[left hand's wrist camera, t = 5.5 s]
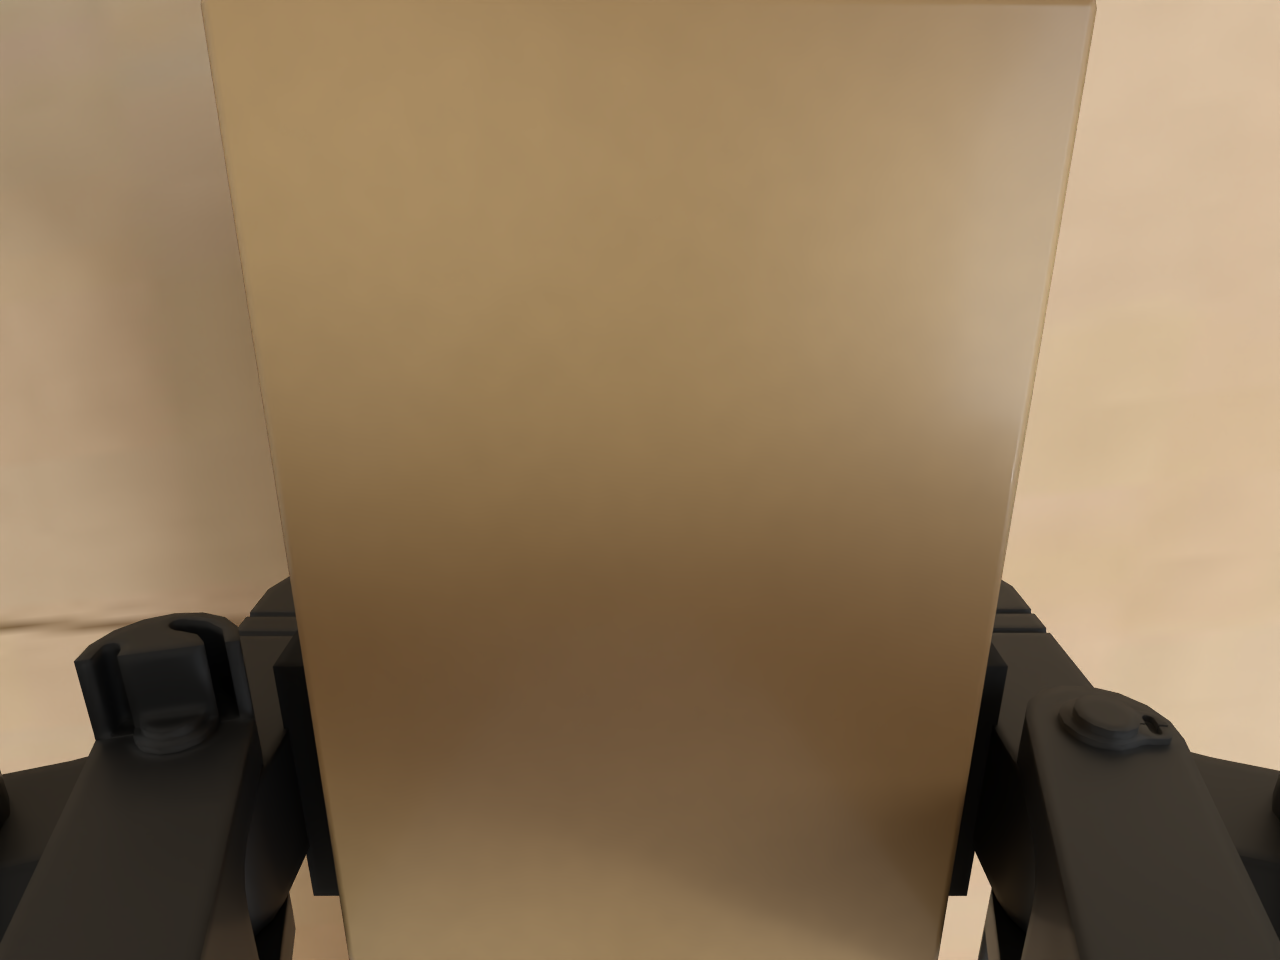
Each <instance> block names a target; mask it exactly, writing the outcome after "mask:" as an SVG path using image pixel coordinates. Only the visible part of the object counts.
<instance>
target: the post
mask: <svg viewBox="0 0 1280 960" xmlns="http://www.w3.org/2000/svg"><path fill="white" fill-rule="evenodd" d="M201 9H202V15H203V22H204V28H205V34H206V41H207V47H208V54H209V60H210V67H211V73H212V80H213V86H214V92H215V99H216V105H217V112H218V118H219V125H220V131H221V137H222V144H223V150H224V157H225V163H226V170H227V176H228V182H229V189H230V195H231V202H232V208H233V215H234V221H235V227H236V234H237V240H238V247H239V253H240V260H241V266H242V272H243V279H244V285H245V292H246V298H247V305H248V311H249V318H250V324H251V330H252V337H253V343H254V350H255V356H256V363H257V369H258V375H259V382H260V388H261V395H262V401H263V408H264V414H265V420H266V427H267V433H268V440H269V446H270V453H271V459H272V465H273V472H274V478H275V485H276V491H277V498H278V504H279V510H280V517H281V523H282V530H283V536H284V543H285V549H286V555H287V562H288V568H289V575H290V581H291V588H292V594H293V601H294V607H295V613H296V620H297V626H298V633H299V639H300V646H301V652H302V658H303V665H304V671H305V678H306V684H307V691H308V697H309V703H310V710H311V716H312V723H313V729H314V736H315V742H316V748H317V755H318V761H319V768H320V774H321V781H322V787H323V793H324V800H325V806H326V813H327V819H328V826H329V832H330V839H331V845H332V851H333V858H334V864H335V871H336V877H337V884H338V890H339V896H340V903H341V909H342V916H343V922H344V929H345V935H346V941H347V948H348V954H349V960H938V956H939V950H940V944H941V938H942V932H943V926H944V920H945V914H946V908H947V902H948V896H949V890H950V884H951V878H952V872H953V866H954V860H955V854H956V848H957V842H958V836H959V830H960V824H961V818H962V812H963V806H964V800H965V794H966V788H967V782H968V776H969V770H970V764H971V758H972V752H973V746H974V740H975V734H976V728H977V722H978V716H979V710H980V704H981V698H982V692H983V686H984V680H985V674H986V668H987V662H988V656H989V650H990V644H991V638H992V632H993V626H994V620H995V614H996V608H997V602H998V596H999V590H1000V584H1001V578H1002V572H1003V566H1004V560H1005V554H1006V548H1007V542H1008V536H1009V530H1010V524H1011V518H1012V512H1013V507H1014V501H1015V495H1016V489H1017V483H1018V477H1019V471H1020V465H1021V459H1022V453H1023V447H1024V441H1025V435H1026V429H1027V423H1028V417H1029V411H1030V405H1031V399H1032V393H1033V387H1034V381H1035V375H1036V369H1037V363H1038V357H1039V351H1040V345H1041V339H1042V333H1043V327H1044V321H1045V315H1046V309H1047V303H1048V297H1049V291H1050V285H1051V279H1052V273H1053V267H1054V261H1055V255H1056V249H1057V243H1058V237H1059V231H1060V225H1061V219H1062V213H1063V207H1064V201H1065V195H1066V189H1067V183H1068V177H1069V171H1070V165H1071V159H1072V153H1073V147H1074V141H1075V135H1076V129H1077V123H1078V117H1079V111H1080V105H1081V99H1082V93H1083V87H1084V81H1085V75H1086V69H1087V63H1088V57H1089V51H1090V45H1091V39H1092V33H1093V27H1094V21H1095V15H1096V9H1097V7H1096V0H201Z"/></svg>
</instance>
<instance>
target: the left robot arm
mask: <svg viewBox="0 0 1280 960" xmlns="http://www.w3.org/2000/svg"><path fill="white" fill-rule="evenodd" d="M74 664H75V667H76V671H77V674H78V678H79V682H80V685H81V689H82V692H83V696H84V700H85V703H86V707H87V710H88V714H89V718H90V721H91V725H92V729H93V732H94V736H95V739H96V741H95V743H94V746H93V748H92V750H91V752H90V754H89V756H88V757H84V758H80V759H77V760H73V761H68V762H63V763H58V764H53V765H48V766H43V767H38V768H33V769H28V770H23V771H18V772H13V773H8V774H3V775H2V774H1V771H0V960H292V955H293V946H294V937H295V922H294V916H293V910H292V905H291V899H290V894H289V891H290V889H291V886H292V884H293V882H294V880H295V878H296V875H297V873H298V871H299V869H300V867H301V864H302V862H303V860H304V858H305V856H306V855H307V860H308V866H309V871H310V877H311V883H312V888H313V894H314V896H339V890H338V884H337V877H336V871H335V864H334V858H333V851H332V845H331V839H330V832H329V826H328V819H327V813H326V806H325V800H324V793H323V787H322V781H321V774H320V768H319V761H318V755H317V748H316V742H315V736H314V729H313V723H312V716H311V710H310V703H309V697H308V691H307V684H306V678H305V671H304V665H303V658H302V652H301V646H300V639H299V633H298V626H297V620H296V613H295V607H294V601H293V594H292V588H291V581H290V576H289V577H288V578H286V579H285V580H283V581H281V582H280V583H278V584H276V585H275V586H273V587H272V588H270V589H268V591H267V592H266V593H265V594H264V596H263V597H262V598H261V599H260V601H259V602H258V603H257V604H256V606H255V607H254V608H253V609H252V611H251V612H250V617H246V618H245V619H244V621H243V622H242V623H241V624H240V626H239V627H237V626H236V625H235V624H233V623H232V622H231V621H229V620H228V619H227V618H225V617H222V616H217V615H212V614H207V613H174V614H169V615H164V616H159V617H154V618H149V619H145V620H141V621H139V622H136V623H133V624H131V625H128V626H125V627H122V628H120V629H117V630H114V631H113V632H111V633H109V634H107V635H106V636H104V637H102V638H101V639H99V640H97V641H96V642H94V643H92V644H91V645H89V646H88V647H87V648H86V649H85V650H84V651H83V652H82V654H81V655H80V656H79V657H78V658H77V659H76V660H75V661H74ZM974 852H976V854H977V857H978V859H979V861H980V863H981V865H982V867H983V870H984V872H985V874H986V876H987V878H988V880H989V883H990V885H991V887H992V889H991V894H990V899H989V905H988V910H987V915H986V920H985V925H984V930H983V936H982V941H981V946H980V951H979V956H978V960H1280V771H1277V770H1272V769H1267V768H1262V767H1257V766H1252V765H1247V764H1242V763H1237V762H1232V761H1227V760H1222V759H1217V758H1212V757H1208V756H1204V755H1200V754H1196V753H1192V752H1190V750H1189V748H1188V746H1187V744H1186V742H1185V740H1184V738H1183V737H1182V736H1181V735H1180V733H1179V732H1178V731H1177V730H1176V728H1175V727H1174V726H1173V724H1172V723H1171V722H1170V721H1169V720H1167V719H1166V718H1164V717H1163V716H1162V715H1160V714H1159V713H1157V712H1156V711H1154V710H1153V709H1151V708H1150V707H1149V706H1147V705H1145V704H1143V703H1140V702H1138V701H1136V700H1133V699H1131V698H1129V697H1126V696H1124V695H1122V694H1119V693H1115V692H1111V691H1107V690H1102V689H1098V688H1094V687H1093V686H1092V685H1091V683H1090V682H1089V681H1088V680H1087V678H1086V677H1085V676H1084V675H1083V673H1082V672H1081V671H1080V670H1079V668H1078V667H1077V666H1076V665H1075V664H1074V662H1073V661H1072V660H1071V659H1070V657H1069V656H1068V655H1067V654H1066V652H1065V651H1064V650H1063V649H1062V647H1061V646H1060V645H1059V644H1058V642H1057V641H1056V640H1055V639H1054V637H1053V636H1052V635H1051V634H1050V633H1046V627H1045V626H1044V625H1043V624H1042V622H1041V621H1040V620H1039V619H1038V617H1037V616H1036V615H1035V614H1031V609H1030V608H1029V606H1028V605H1027V604H1026V603H1025V601H1024V600H1023V599H1022V598H1021V596H1020V595H1019V594H1018V593H1017V591H1016V590H1015V589H1014V588H1013V586H1011V585H1009V584H1008V583H1006V582H1004V581H1003V580H1001V584H1000V590H999V596H998V602H997V608H996V614H995V620H994V626H993V632H992V638H991V644H990V650H989V656H988V662H987V668H986V674H985V680H984V686H983V692H982V698H981V704H980V710H979V716H978V722H977V728H976V734H975V740H974V746H973V752H972V758H971V764H970V770H969V776H968V782H967V788H966V794H965V800H964V806H963V812H962V818H961V824H960V830H959V836H958V842H957V848H956V854H955V860H954V866H953V872H952V878H951V884H950V890H949V896H967V891H968V886H969V880H970V875H971V869H972V864H973V858H974Z"/></svg>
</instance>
